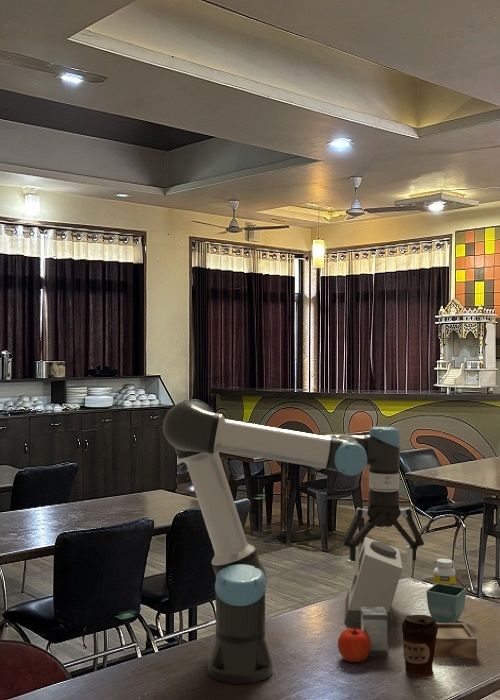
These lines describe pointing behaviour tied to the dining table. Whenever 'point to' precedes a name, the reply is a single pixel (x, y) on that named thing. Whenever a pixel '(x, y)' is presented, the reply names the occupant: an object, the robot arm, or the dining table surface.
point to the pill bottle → (444, 572)
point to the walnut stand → (455, 641)
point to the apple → (354, 645)
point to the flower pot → (446, 602)
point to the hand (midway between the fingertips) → (382, 573)
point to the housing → (375, 628)
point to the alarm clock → (373, 581)
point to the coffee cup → (419, 644)
